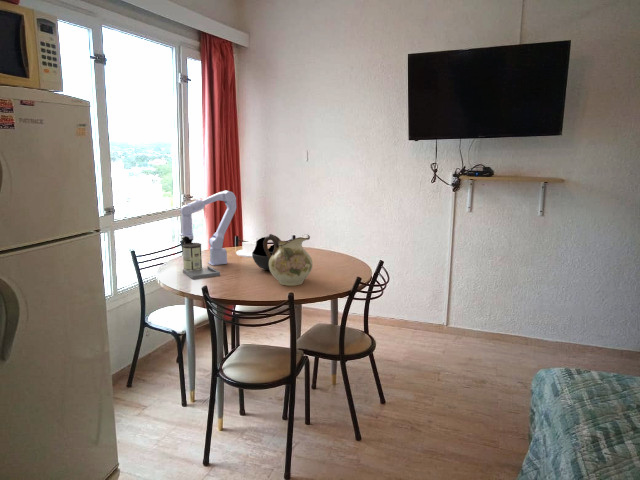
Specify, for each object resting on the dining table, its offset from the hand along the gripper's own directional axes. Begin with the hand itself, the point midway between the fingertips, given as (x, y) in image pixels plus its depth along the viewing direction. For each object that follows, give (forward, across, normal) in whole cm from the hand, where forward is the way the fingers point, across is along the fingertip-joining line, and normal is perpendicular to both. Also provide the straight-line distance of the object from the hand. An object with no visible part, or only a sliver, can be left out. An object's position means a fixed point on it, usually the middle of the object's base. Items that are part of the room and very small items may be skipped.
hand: (188, 249), depth 263 cm
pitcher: (+10, +60, +32) cm, 69 cm away
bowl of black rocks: (+10, +32, +36) cm, 49 cm away
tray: (+10, +20, 0) cm, 22 cm away
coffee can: (+10, +7, 0) cm, 12 cm away
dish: (+10, -11, +48) cm, 51 cm away
